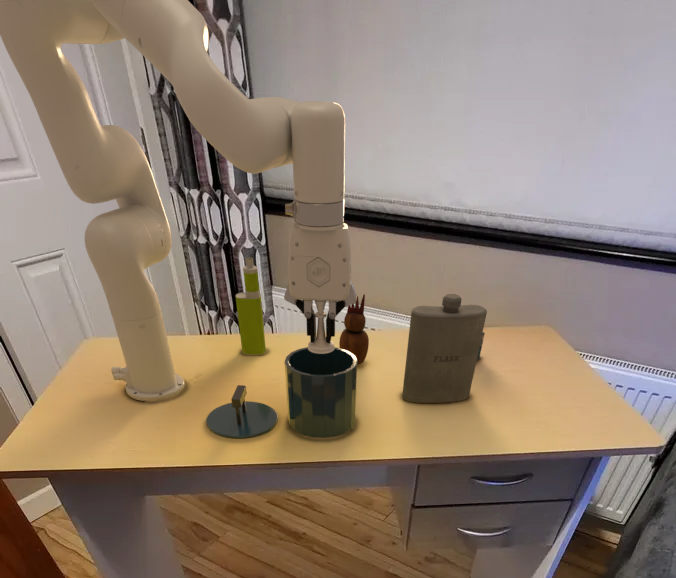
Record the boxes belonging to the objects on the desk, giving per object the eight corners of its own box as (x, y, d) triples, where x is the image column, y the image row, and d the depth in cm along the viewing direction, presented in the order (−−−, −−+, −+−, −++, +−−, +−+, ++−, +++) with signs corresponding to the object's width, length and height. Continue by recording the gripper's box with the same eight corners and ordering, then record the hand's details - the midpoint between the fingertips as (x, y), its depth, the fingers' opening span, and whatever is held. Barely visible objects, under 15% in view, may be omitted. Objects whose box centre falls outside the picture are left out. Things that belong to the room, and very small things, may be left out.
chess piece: (303, 351, 92) (300, 289, 84) (314, 341, 95) (312, 280, 87) (328, 355, 90) (328, 293, 83) (338, 345, 94) (339, 284, 86)
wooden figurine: (371, 362, 123) (375, 293, 112) (359, 370, 120) (362, 300, 109) (347, 355, 126) (349, 287, 115) (335, 363, 123) (336, 294, 111)
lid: (199, 439, 98) (192, 408, 94) (216, 404, 108) (211, 374, 103) (272, 443, 98) (269, 411, 93) (282, 407, 107) (280, 377, 103)
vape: (265, 355, 125) (257, 260, 111) (241, 354, 125) (229, 260, 111) (267, 349, 128) (259, 256, 113) (243, 348, 128) (232, 255, 113)
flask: (405, 404, 109) (417, 302, 94) (400, 392, 113) (410, 291, 98) (472, 402, 110) (495, 300, 95) (465, 389, 114) (485, 290, 99)
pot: (284, 438, 99) (280, 374, 90) (293, 405, 108) (290, 344, 99) (353, 441, 99) (355, 377, 89) (356, 408, 108) (358, 347, 98)
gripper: (263, 218, 76) (274, 346, 89) (370, 221, 75) (364, 350, 89) (271, 207, 81) (280, 330, 94) (372, 210, 80) (366, 333, 94)
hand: (321, 339), depth 91 cm, fingers closed on chess piece
